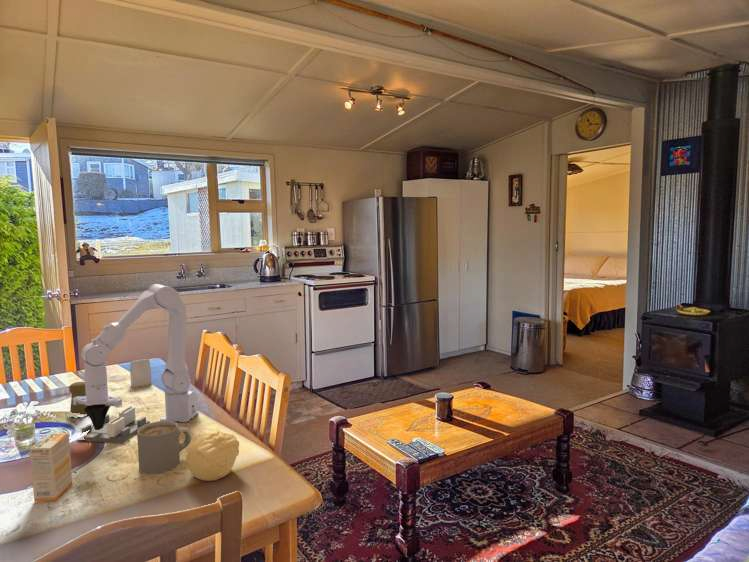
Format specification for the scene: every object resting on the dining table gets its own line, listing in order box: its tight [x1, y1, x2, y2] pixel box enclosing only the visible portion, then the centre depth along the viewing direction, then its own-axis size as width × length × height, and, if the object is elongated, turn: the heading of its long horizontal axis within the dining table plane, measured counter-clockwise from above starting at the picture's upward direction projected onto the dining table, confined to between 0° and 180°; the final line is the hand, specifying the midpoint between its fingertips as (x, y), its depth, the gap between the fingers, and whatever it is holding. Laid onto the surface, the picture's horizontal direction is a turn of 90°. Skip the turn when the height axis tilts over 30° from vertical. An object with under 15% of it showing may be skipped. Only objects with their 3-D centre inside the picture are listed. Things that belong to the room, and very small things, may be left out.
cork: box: [69, 381, 88, 415], centre depth 167 cm, size 6×6×11 cm
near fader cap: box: [107, 416, 125, 437], centre depth 149 cm, size 2×5×4 cm, turn 171°
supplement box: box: [29, 432, 73, 503], centre depth 118 cm, size 8×5×13 cm, turn 5°
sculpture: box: [186, 430, 240, 482], centre depth 127 cm, size 12×12×11 cm
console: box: [80, 414, 151, 444], centre depth 153 cm, size 14×14×3 cm
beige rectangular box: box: [129, 358, 153, 389], centre depth 198 cm, size 4×7×10 cm, turn 128°
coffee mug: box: [136, 420, 192, 475], centre depth 133 cm, size 13×10×10 cm
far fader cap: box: [118, 406, 137, 426], centre depth 157 cm, size 2×5×4 cm, turn 172°
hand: (99, 428), depth 150 cm, fingers closed
